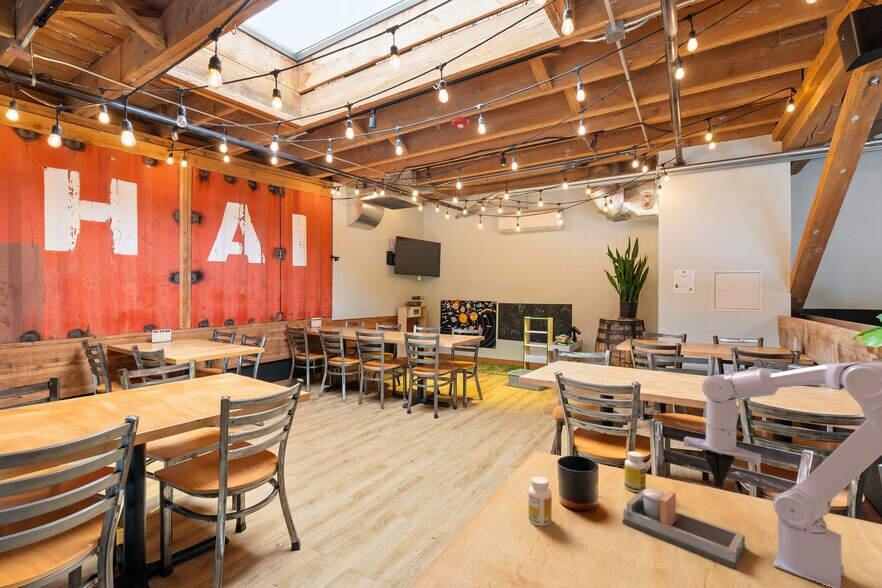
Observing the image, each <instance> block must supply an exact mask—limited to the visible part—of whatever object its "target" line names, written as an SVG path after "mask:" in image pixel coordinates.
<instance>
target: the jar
mask: <svg viewBox="0 0 882 588" xmlns="http://www.w3.org/2000/svg"><path fill="white" fill-rule="evenodd" d="M666 494H667V493H665V492H663V491H661V490H659V489H655V488H646V489H645V490H643V495H644V516H646V517H649V518H652V519H654V520H657V521H660V499H661V498H663V497H664V496H665V495H666Z"/></svg>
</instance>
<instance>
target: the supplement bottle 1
mask: <svg viewBox="0 0 882 588" xmlns="http://www.w3.org/2000/svg"><path fill="white" fill-rule="evenodd" d="M530 482H531V486H530V487H528V520H529V522H530V523H531V524H533V525H535V526H538V527H546V526H549V525H550V524H551V523H552V517H553V516H552V491H551V489H550V488H549V484H550V483H549V479H548V478H546V477H545V476H533V477H532V478H531V481H530Z"/></svg>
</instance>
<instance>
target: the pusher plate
mask: <svg viewBox="0 0 882 588" xmlns="http://www.w3.org/2000/svg"><path fill="white" fill-rule="evenodd" d="M665 494H666V495H665V496H664V497H663V498H661V499H660V522H662V523H665V524H667V525H670V526H672V525H673V524H674V522H675V521H676V511H677V510H676V501H677V500H676V498H677V497H676V492H675V491H673V490H669V491H668V492H667V493H665Z"/></svg>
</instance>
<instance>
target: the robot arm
mask: <svg viewBox="0 0 882 588" xmlns="http://www.w3.org/2000/svg"><path fill="white" fill-rule="evenodd" d="M747 369H748V370H741V371H735V372H733V371H732V370H729V371H725V373H723V374H717V375H711V376H709V377H707V378H705V379H704V380H703V382H702V386H701V388H702V392H703V394H704V395H705V396H706V407H705V409H706V416H705V417H706V418H705V421H706V422H705V439H704V438H703V439H702V438H697V437H696V438H695V437H691V436H685V437H684V438H683V446H684V447H687V448H689V447H690V448H695V449H697V450H702V451H705V454H704V458H705V460H706V462H707V464H708V465H709V468H710V471H711V474H712V477H713V481H714V486H716V487H718V488H724V486H725V482H726V479H727V476H728V473H729V471H730V469H731V467H732V466H733V464H734V462H735V461H736V460H739V461H740V460H741V461H743V462H744V461H745V462H747V463H748V462H749V463H752V464H753V465H756V466H760V465H761V462H762V454H761V453H756V452H753V451H750V450H747V449H744V448H741V447H739V446H737V414H738V412H737V411H738V410H737V401H738V400H737V399H740V400H742V399H749V398H759V397H769V396H774V395H775V394H776V393H777V391H778V390H779V389H780V388H790V387H791V388H792V387H800V386H801V387H802V386H810V385H826V386H828V387H830V388H832V389H836V390H837V391H839V390H843V389H844V390H846V392H847V393H848V394H849V395H850V396H851V397H852V399H853V400H854V401H855V402H856V403H857V404H858V405H859V407H860V409H861V411H862V413H863V416H864V418H865V420H864V421H863V423H862V424H860V425H859V427H858V428H856V429H855V430H854V431H853V432H852V433H851V434H850V435H849V436H848V437H847V438H846V439H845V440H844V441H843V442H842V443H841V444H840V445H839V446H838V447H837V448H835V449H834V451H832V453H830V455H828V457H826V458H825V459H824V461H822V462H821V463H820V464H818V466H817V467H816V468H815V469H814V470H813V471H812V472H811V473H810V474H809V475H807V477H806V478H805V479H803V480H802V481H800V482H799V483H796V484H793V486H792V487H791V488H788V489H787V490H785V491H784V492H781V493H778V494H777V495H775V496H774V499H773V502H772V503H773V508H774V509H773V510H774V511H775V514H777V517H778V523H777V524H778V550H777V552H776V555H775V558H774V560H773V566H774V567H776V568H778V569H780V570H783V571H785V572H787V573H791V574H793V575H796V576H799V577H801V578H803V577H804V579H806V578H807V580H809V579H810V580H809V581H811V580H813V581H812V582H814V581H816V582H815V583H817V582H819V583H821V584H820V585H822V584H825V585H828V586H830V587H834V588H841V587H840V586H842V577H844V576H845V566H844V565H843V563H842V562H843V559H842V558H843V552H842V548H843V547H842V546H843V545H842V544H843V542H842V534H840V533H838V532H835V531H833V530H831V529H829V528H828V526H827V523H826V521H825V519H824V516H826V515H828V514H829V512H830V511H831V505H832V501H833V500H834V499H835V498H836V497H838V495H839V494H840V493H841V492H842V491H843V490H844V489H845V488H846V487H847V486H849V485H850V484H851V483H852V482H853V481H854V480H855V479H856V478H858V477H859V476H860V475H861V474H862V473H863V472H864V471H865V470H866V469H868V468H869V466H871V465H872V464H873V463H874V462H875V461H876V460H877V459H879V458H880V457H881V456H882V360H871V361H866V362H865V363H862V361H849V362H848V361H847V362H833V363H824V364H819V365H814V366H809V367H801V368H796V369H791V370H790V369H789V370H783V371H778V372H774V371H771V370H768V369H767V368H764V367H760V368H759V367H758V366H757V365H754V366H750V367H748V368H747ZM841 576H842V577H841ZM819 583H818V584H819ZM829 584H830V585H829ZM830 587H829V588H830Z"/></svg>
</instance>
